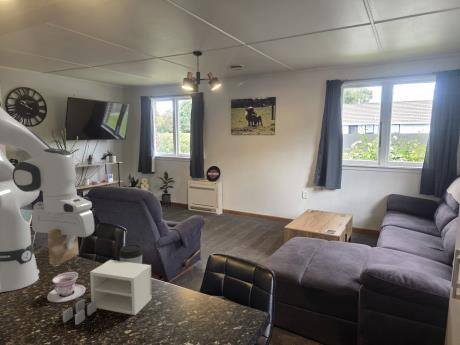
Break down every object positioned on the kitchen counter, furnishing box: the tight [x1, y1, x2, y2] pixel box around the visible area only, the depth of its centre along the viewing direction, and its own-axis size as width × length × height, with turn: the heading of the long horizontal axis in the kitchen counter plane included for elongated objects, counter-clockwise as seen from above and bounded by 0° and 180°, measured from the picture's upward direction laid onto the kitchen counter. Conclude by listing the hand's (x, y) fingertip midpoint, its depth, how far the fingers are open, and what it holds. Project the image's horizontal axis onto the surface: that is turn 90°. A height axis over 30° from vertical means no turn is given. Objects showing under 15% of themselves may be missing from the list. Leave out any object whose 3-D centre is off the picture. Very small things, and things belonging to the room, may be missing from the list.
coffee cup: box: [118, 244, 144, 264], centre depth 110 cm, size 8×8×15 cm
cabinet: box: [62, 259, 153, 325], centre depth 95 cm, size 19×19×12 cm
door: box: [47, 229, 80, 266], centre depth 91 cm, size 3×8×10 cm, turn 164°
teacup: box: [46, 271, 86, 303], centre depth 105 cm, size 12×12×6 cm
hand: (63, 247), depth 91 cm, fingers closed on door, 2 cm apart
